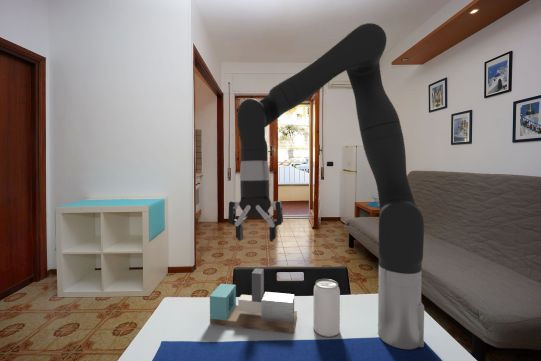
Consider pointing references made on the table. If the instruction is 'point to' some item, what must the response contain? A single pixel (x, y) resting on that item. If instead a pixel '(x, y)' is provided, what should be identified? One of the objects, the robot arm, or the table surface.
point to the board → (254, 322)
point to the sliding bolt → (253, 293)
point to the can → (326, 308)
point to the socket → (222, 301)
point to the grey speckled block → (277, 307)
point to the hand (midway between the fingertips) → (255, 240)
